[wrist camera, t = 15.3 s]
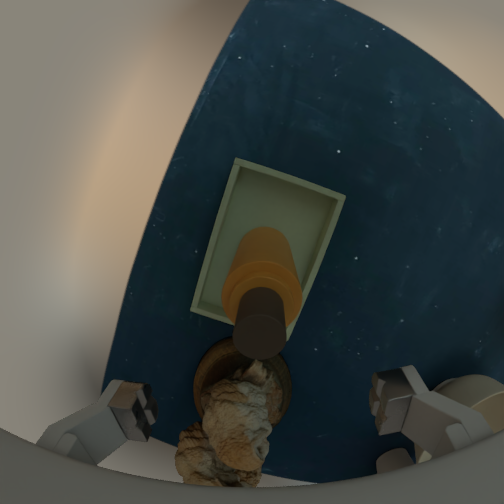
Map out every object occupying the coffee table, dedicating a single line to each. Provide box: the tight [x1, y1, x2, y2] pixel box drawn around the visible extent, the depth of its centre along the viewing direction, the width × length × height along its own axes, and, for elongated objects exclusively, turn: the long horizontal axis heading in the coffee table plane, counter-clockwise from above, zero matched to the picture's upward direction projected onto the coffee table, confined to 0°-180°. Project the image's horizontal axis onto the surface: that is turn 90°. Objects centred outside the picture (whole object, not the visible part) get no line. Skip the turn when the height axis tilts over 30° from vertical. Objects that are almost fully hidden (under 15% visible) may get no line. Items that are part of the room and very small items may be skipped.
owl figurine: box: [175, 337, 292, 487], centre depth 26 cm, size 18×12×17 cm, turn 177°
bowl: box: [414, 374, 504, 464], centre depth 29 cm, size 16×16×10 cm
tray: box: [190, 158, 346, 341], centre depth 28 cm, size 15×10×2 cm
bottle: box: [221, 227, 302, 360], centre depth 22 cm, size 5×5×16 cm
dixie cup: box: [376, 448, 414, 474], centre depth 33 cm, size 8×8×10 cm
